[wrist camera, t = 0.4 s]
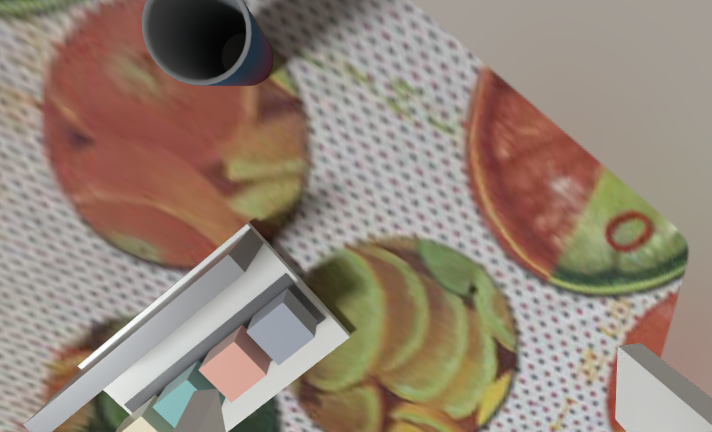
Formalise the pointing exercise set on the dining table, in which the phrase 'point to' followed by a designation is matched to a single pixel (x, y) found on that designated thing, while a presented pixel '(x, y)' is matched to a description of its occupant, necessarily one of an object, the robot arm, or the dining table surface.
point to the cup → (206, 42)
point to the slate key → (282, 327)
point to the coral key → (235, 364)
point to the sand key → (146, 420)
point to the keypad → (197, 334)
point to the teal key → (182, 393)
